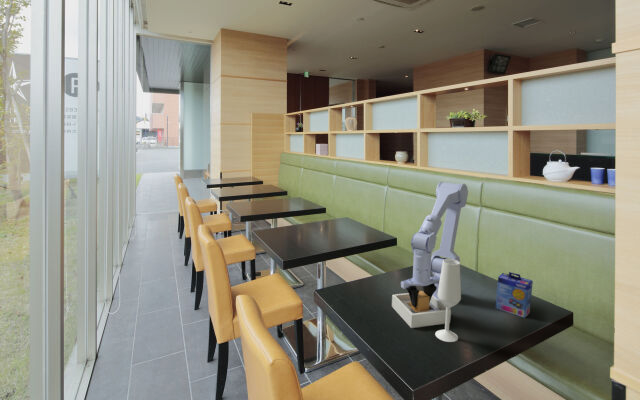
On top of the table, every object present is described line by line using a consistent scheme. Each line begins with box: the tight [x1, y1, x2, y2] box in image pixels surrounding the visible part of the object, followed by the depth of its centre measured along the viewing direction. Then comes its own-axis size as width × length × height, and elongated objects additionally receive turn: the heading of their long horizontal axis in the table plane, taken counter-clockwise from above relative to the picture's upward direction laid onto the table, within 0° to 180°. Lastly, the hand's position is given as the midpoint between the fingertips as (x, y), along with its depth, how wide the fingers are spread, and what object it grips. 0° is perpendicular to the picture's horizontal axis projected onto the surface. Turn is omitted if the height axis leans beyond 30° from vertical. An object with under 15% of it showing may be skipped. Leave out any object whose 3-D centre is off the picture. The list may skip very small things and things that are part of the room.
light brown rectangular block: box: [411, 290, 429, 312], centre depth 120 cm, size 4×5×6 cm
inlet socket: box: [401, 300, 439, 314], centre depth 120 cm, size 10×10×3 cm
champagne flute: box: [434, 258, 462, 343], centre depth 105 cm, size 7×7×24 cm
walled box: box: [391, 290, 452, 329], centre depth 120 cm, size 14×15×4 cm
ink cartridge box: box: [495, 271, 534, 319], centre depth 121 cm, size 10×6×14 cm, turn 45°
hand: (420, 305), depth 120 cm, fingers open, 4 cm apart
